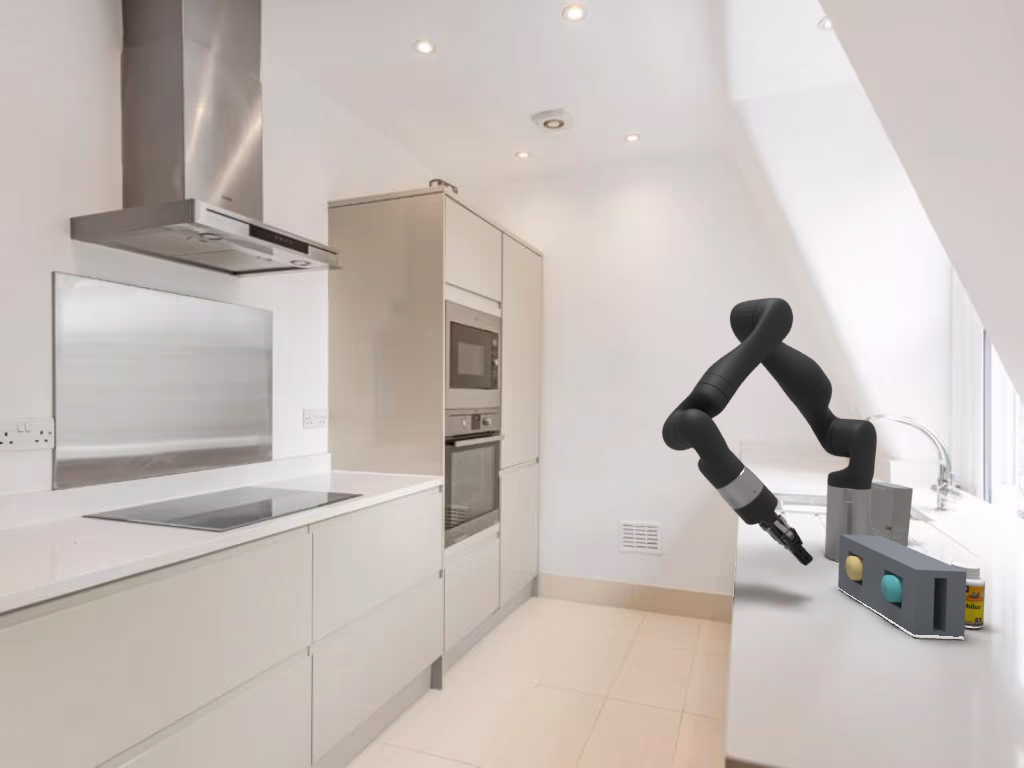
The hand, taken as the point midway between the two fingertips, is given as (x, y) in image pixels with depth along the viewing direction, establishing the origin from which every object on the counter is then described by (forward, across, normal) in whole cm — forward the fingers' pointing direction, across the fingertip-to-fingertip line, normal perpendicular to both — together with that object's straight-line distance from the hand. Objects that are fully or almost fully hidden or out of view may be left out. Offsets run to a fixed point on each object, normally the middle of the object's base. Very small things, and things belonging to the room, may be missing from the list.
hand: (807, 561), depth 117 cm
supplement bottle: (+21, -10, -11) cm, 25 cm away
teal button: (+9, -12, -5) cm, 16 cm away
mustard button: (+9, 0, -5) cm, 10 cm away
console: (+14, -6, -4) cm, 16 cm away
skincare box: (+36, +49, -26) cm, 66 cm away
